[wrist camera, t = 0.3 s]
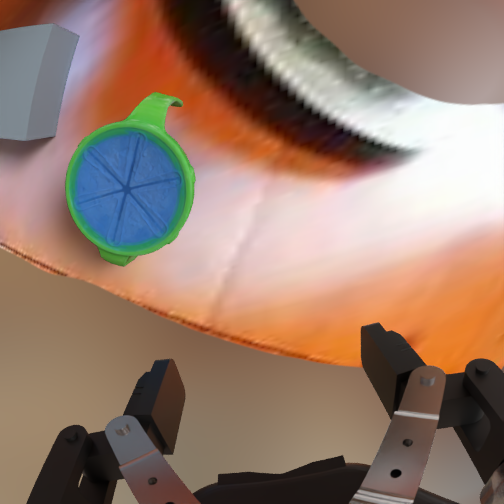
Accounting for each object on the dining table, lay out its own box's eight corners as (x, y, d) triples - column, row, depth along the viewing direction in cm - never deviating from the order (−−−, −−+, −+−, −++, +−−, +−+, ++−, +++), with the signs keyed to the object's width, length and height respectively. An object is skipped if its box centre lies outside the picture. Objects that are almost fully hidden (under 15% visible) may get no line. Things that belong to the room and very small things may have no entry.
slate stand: (-2, 42, 21) (-30, 37, 16) (79, 35, 23) (53, 23, 18) (-20, 129, 26) (-49, 134, 20) (55, 136, 28) (25, 140, 22)
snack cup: (172, 254, 34) (152, 302, 25) (91, 217, 32) (46, 251, 22) (233, 123, 29) (234, 121, 20) (142, 85, 27) (103, 70, 17)
